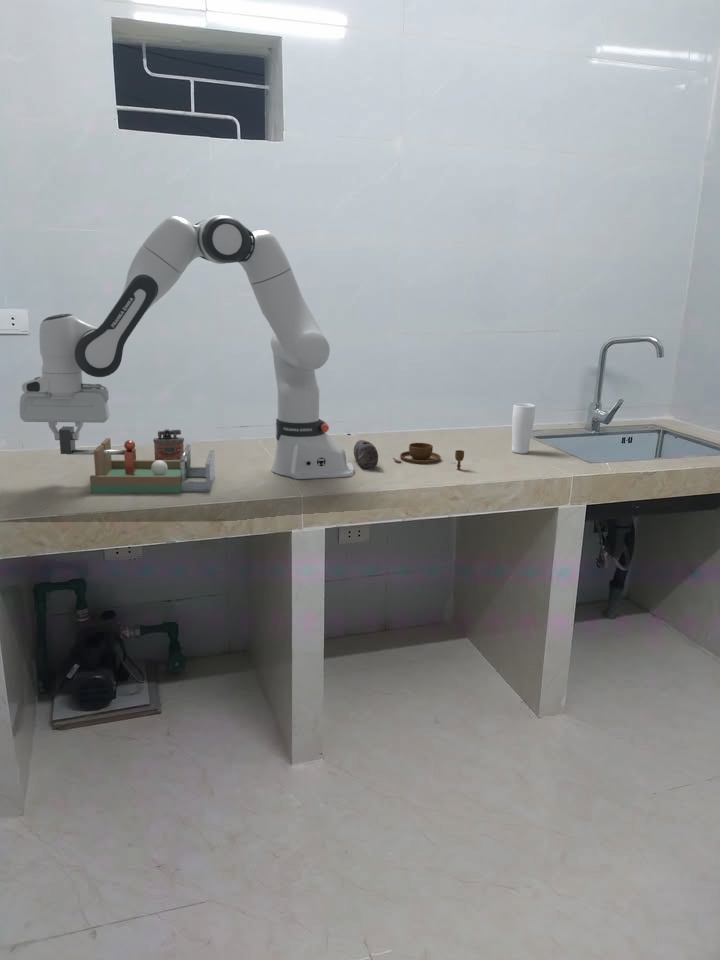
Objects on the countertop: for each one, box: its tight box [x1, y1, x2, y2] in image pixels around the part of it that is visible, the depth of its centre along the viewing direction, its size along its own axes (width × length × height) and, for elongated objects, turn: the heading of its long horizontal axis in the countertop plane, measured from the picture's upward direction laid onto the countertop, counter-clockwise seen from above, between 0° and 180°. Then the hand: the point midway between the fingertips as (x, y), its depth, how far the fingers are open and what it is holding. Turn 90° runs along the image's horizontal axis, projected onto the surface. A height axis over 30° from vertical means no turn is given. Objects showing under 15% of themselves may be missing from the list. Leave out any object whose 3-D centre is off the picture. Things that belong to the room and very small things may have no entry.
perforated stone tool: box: [353, 439, 379, 469], centre depth 212 cm, size 15×5×7 cm, turn 13°
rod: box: [58, 425, 137, 474], centre depth 183 cm, size 17×4×11 cm, turn 96°
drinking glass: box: [511, 402, 536, 455], centre depth 231 cm, size 7×7×15 cm
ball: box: [151, 460, 168, 476], centre depth 186 cm, size 4×4×4 cm
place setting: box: [392, 442, 465, 471], centre depth 216 cm, size 18×20×6 cm
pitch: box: [89, 437, 188, 494], centre depth 185 cm, size 21×16×10 cm
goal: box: [180, 443, 216, 493], centre depth 187 cm, size 7×14×8 cm, turn 6°
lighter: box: [153, 428, 185, 460], centre depth 203 cm, size 8×3×10 cm, turn 105°
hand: (67, 439), depth 182 cm, fingers closed on rod, 2 cm apart
